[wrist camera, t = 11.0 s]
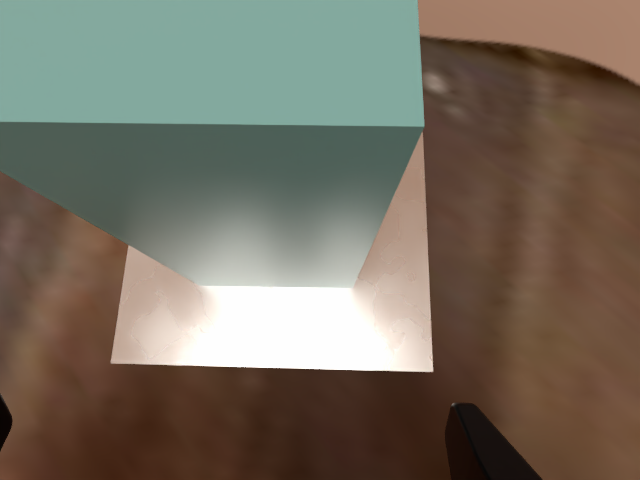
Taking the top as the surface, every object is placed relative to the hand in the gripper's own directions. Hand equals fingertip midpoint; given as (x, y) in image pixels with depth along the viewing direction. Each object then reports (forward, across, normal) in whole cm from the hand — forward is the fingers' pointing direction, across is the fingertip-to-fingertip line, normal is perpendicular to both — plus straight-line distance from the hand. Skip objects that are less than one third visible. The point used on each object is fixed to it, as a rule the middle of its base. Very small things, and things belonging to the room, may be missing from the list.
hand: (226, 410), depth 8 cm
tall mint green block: (+10, 0, 0) cm, 10 cm away
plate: (+11, 0, +1) cm, 11 cm away
